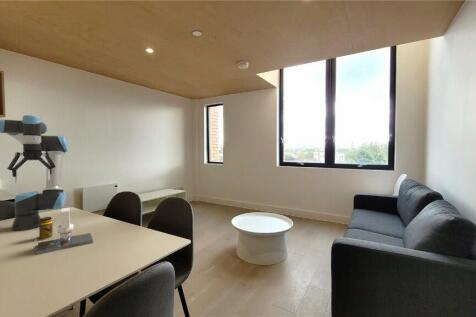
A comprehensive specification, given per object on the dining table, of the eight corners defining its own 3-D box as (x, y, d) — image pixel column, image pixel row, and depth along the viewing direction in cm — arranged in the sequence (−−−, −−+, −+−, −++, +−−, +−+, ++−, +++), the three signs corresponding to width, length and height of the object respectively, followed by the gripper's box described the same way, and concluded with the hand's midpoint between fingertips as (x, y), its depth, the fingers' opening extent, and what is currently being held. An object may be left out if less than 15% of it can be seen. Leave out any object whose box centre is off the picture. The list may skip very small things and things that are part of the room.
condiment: (52, 238, 134) (52, 218, 134) (33, 241, 129) (33, 220, 129) (54, 234, 140) (53, 215, 140) (36, 237, 136) (35, 217, 135)
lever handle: (58, 230, 127) (58, 208, 127) (73, 227, 132) (73, 207, 131) (57, 235, 119) (56, 212, 119) (73, 232, 123) (73, 211, 123)
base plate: (38, 245, 124) (38, 232, 124) (90, 235, 139) (90, 224, 139) (36, 254, 113) (36, 240, 113) (92, 242, 128) (92, 230, 128)
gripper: (3, 142, 113) (4, 184, 114) (61, 144, 135) (62, 179, 136) (-2, 142, 117) (-1, 183, 118) (55, 144, 139) (56, 178, 139)
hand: (33, 181), depth 127 cm, fingers open, 13 cm apart
